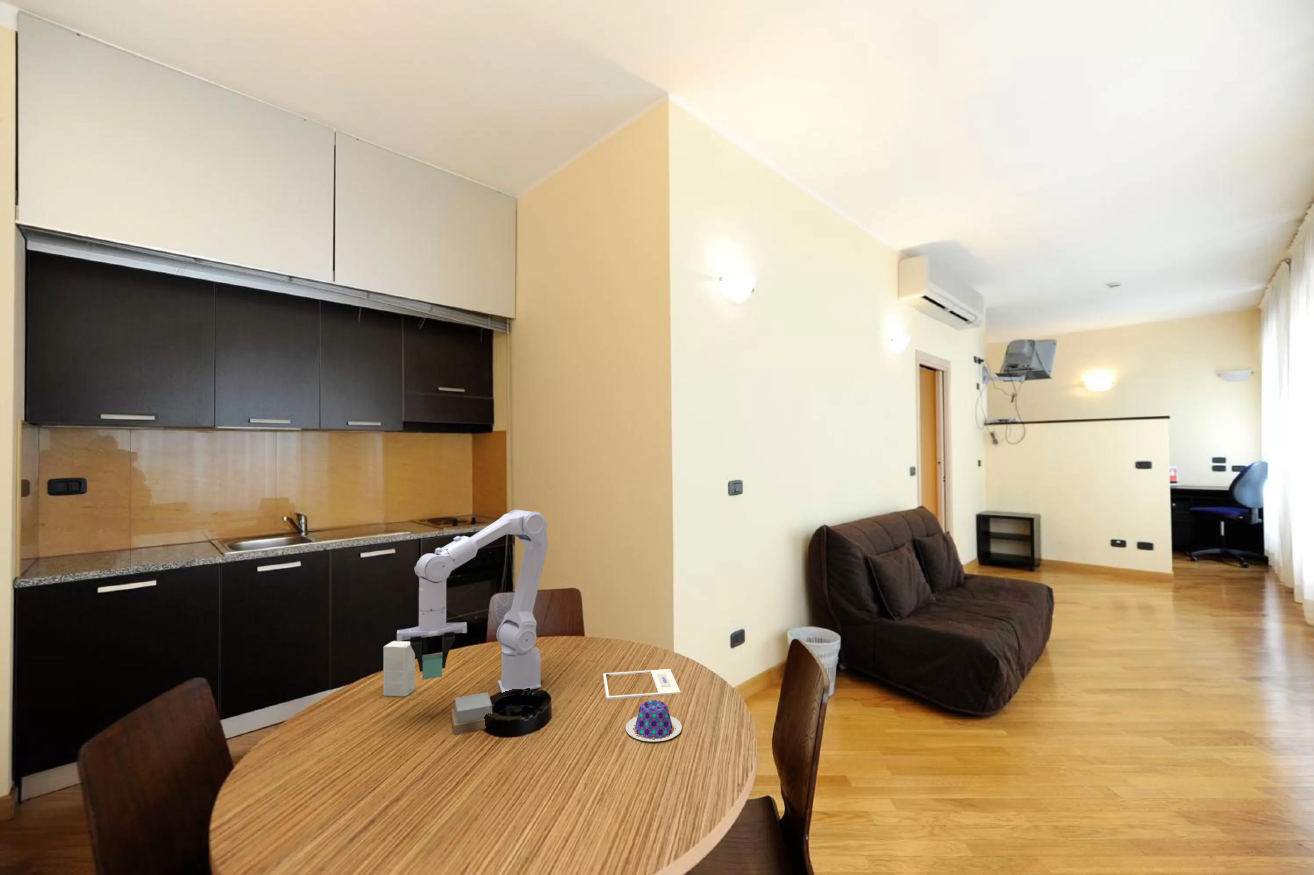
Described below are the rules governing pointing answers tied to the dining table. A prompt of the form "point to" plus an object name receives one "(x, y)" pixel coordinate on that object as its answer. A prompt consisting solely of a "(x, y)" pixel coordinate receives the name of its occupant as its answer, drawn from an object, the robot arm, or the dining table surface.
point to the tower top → (472, 707)
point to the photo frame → (661, 679)
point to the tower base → (466, 725)
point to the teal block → (432, 666)
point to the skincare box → (398, 669)
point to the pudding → (653, 722)
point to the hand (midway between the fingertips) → (432, 668)
